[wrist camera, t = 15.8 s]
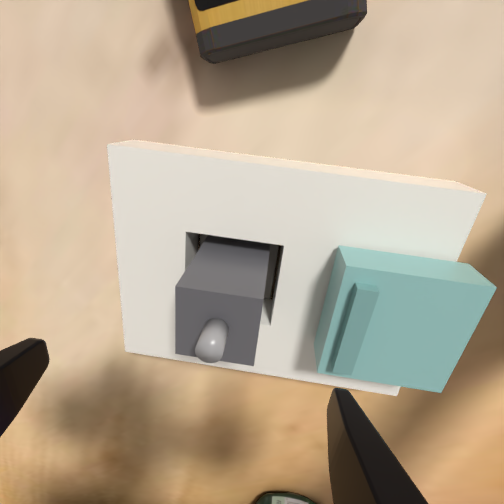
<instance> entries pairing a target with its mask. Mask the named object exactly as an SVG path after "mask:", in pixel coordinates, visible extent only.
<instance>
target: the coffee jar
mask: <svg viewBox="0 0 504 504" xmlns="http://www.w3.org/2000/svg"><path fill="white" fill-rule="evenodd" d="M256 504H316V503H314V502H312V501H311V500H310V499H308V498H306V497H304V496H301V495H298V494H294V493H290V492H287V493H266V494H265V495H263V496H262V497H261V498H260V499H259V500H258V501H257V502H256Z"/></svg>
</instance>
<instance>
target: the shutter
mask: <svg viewBox="0 0 504 504" xmlns="http://www.w3.org/2000/svg"><path fill="white" fill-rule="evenodd" d="M496 289H497V287H496V286H495V285H493V284H492V283H491V282H490V281H489V280H488V279H486V278H485V277H484V276H483V275H482V274H480V273H479V272H478V271H477V270H476V269H474V268H473V267H472V266H471V265H470V264H467V263H460V262H453V261H446V260H439V259H432V258H425V257H418V256H411V255H404V254H397V253H390V252H383V251H376V250H369V249H362V248H355V247H347V246H340V245H338V249H337V253H336V257H335V261H334V265H333V269H332V273H331V277H330V281H329V285H328V289H327V293H326V297H325V301H324V305H323V309H322V313H321V316H320V320H319V324H318V328H317V332H316V336H315V340H314V350H315V359H316V368H317V373H321V374H327V375H333V376H340V377H346V378H352V379H358V380H364V381H370V382H377V383H383V384H389V385H395V386H401V387H407V388H414V389H420V390H426V391H432V392H438V393H441V392H442V390H443V389H444V387H445V385H446V383H447V381H448V379H449V377H450V375H451V373H452V372H453V370H454V368H455V366H456V364H457V362H458V360H459V358H460V356H461V355H462V353H463V351H464V349H465V347H466V345H467V343H468V341H469V340H470V338H471V336H472V334H473V332H474V330H475V328H476V326H477V324H478V323H479V321H480V319H481V317H482V315H483V313H484V311H485V309H486V307H487V306H488V304H489V302H490V300H491V298H492V296H493V294H494V292H495V291H496Z"/></svg>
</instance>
